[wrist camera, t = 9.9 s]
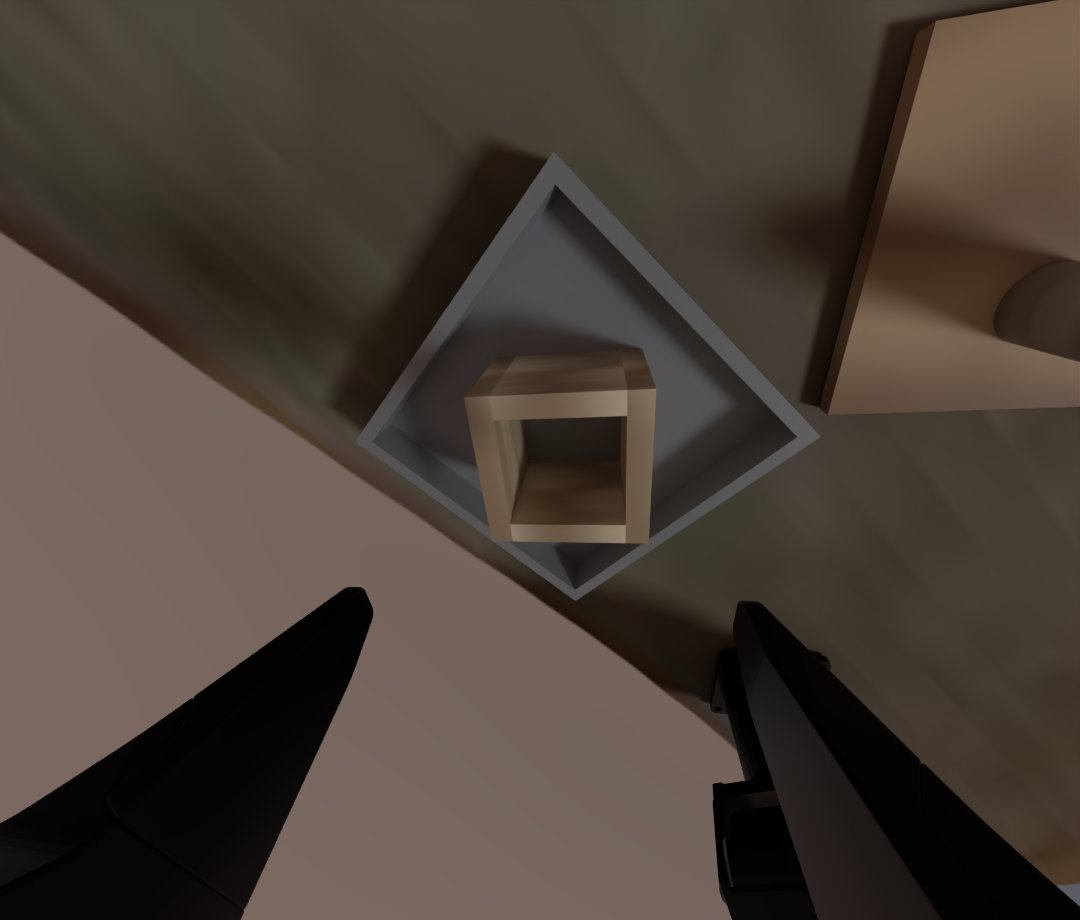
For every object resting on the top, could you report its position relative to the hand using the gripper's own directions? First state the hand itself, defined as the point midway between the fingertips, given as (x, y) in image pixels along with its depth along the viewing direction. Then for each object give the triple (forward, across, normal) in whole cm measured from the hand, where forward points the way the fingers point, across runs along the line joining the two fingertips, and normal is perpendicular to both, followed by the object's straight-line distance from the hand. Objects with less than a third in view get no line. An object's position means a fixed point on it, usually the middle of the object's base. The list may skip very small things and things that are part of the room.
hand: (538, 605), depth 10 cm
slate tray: (+12, 0, 0) cm, 12 cm away
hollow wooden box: (+11, 0, 0) cm, 11 cm away
